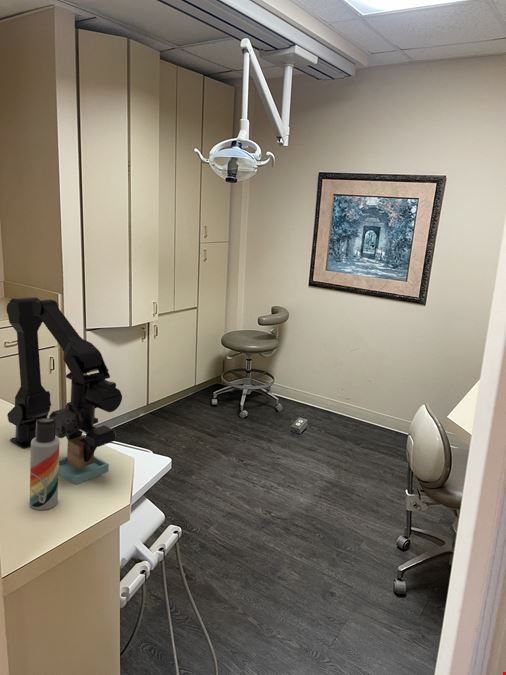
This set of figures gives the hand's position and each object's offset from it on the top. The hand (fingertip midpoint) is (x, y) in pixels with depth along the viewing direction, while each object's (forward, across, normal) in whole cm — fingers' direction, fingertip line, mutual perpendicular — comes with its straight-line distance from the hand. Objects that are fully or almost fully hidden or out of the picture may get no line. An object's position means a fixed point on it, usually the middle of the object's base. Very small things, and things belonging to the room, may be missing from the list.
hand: (80, 457), depth 125 cm
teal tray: (+3, 0, 0) cm, 3 cm away
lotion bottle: (+4, +6, -14) cm, 16 cm away
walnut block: (+1, 0, 0) cm, 1 cm away
